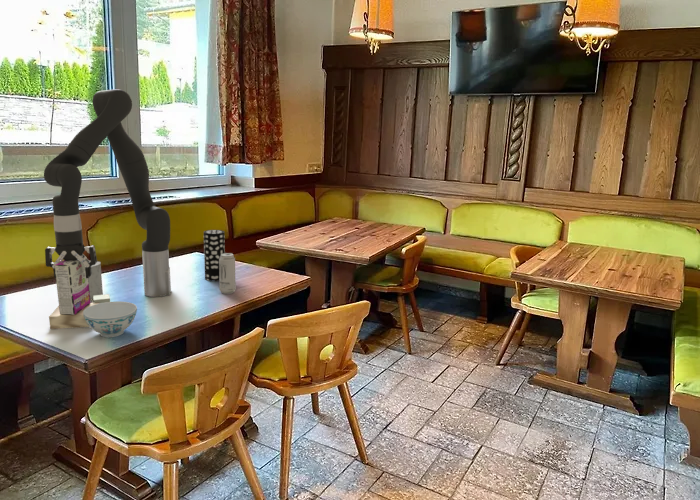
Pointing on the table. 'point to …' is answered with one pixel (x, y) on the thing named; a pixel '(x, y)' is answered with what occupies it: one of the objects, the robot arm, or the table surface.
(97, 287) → the speckled grey cylinder
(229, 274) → the energy drink can
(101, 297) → the brick
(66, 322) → the pedestal
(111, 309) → the chinaware
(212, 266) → the white-spotted black cylinder
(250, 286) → the table surface
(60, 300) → the candy bar box
